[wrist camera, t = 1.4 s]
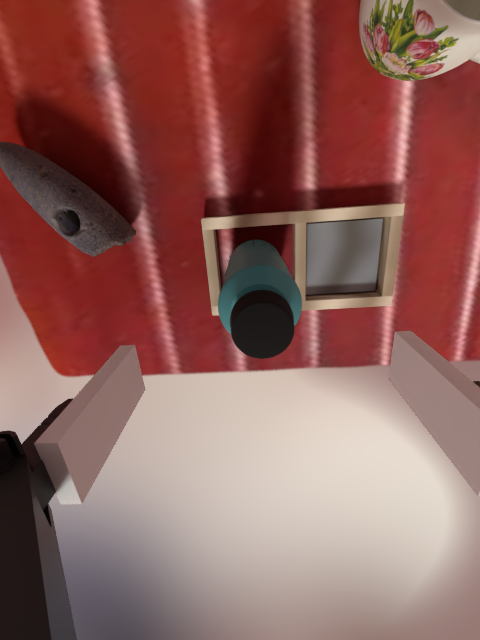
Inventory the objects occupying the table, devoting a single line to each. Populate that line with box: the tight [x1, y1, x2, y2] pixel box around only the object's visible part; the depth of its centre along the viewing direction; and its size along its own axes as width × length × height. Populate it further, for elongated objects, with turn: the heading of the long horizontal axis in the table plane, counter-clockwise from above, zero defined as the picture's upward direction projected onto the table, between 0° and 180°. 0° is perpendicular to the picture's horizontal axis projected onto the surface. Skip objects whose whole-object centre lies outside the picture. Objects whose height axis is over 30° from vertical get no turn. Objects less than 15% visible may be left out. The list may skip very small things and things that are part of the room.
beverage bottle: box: [218, 239, 302, 359], centre depth 27 cm, size 6×7×20 cm
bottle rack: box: [201, 203, 405, 315], centre depth 35 cm, size 22×11×2 cm, turn 94°
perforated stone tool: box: [0, 142, 136, 257], centre depth 31 cm, size 15×5×7 cm, turn 46°
